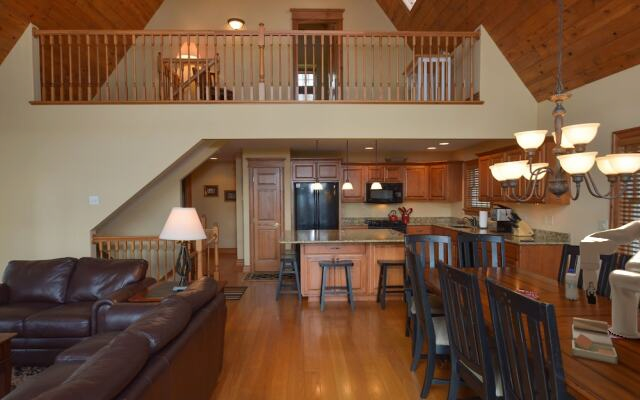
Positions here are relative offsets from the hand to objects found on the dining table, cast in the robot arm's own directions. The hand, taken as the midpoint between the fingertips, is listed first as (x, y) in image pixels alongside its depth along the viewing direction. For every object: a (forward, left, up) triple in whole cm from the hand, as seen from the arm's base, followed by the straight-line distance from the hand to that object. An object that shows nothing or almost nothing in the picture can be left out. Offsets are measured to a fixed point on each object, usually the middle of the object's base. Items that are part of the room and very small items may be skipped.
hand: (591, 301), depth 170 cm
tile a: (+19, +11, -16) cm, 27 cm away
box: (+19, +6, -18) cm, 27 cm away
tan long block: (+1, 0, -14) cm, 14 cm away
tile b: (+17, +2, -15) cm, 23 cm away
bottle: (-65, -30, -19) cm, 74 cm away
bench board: (+4, +1, -18) cm, 19 cm away
